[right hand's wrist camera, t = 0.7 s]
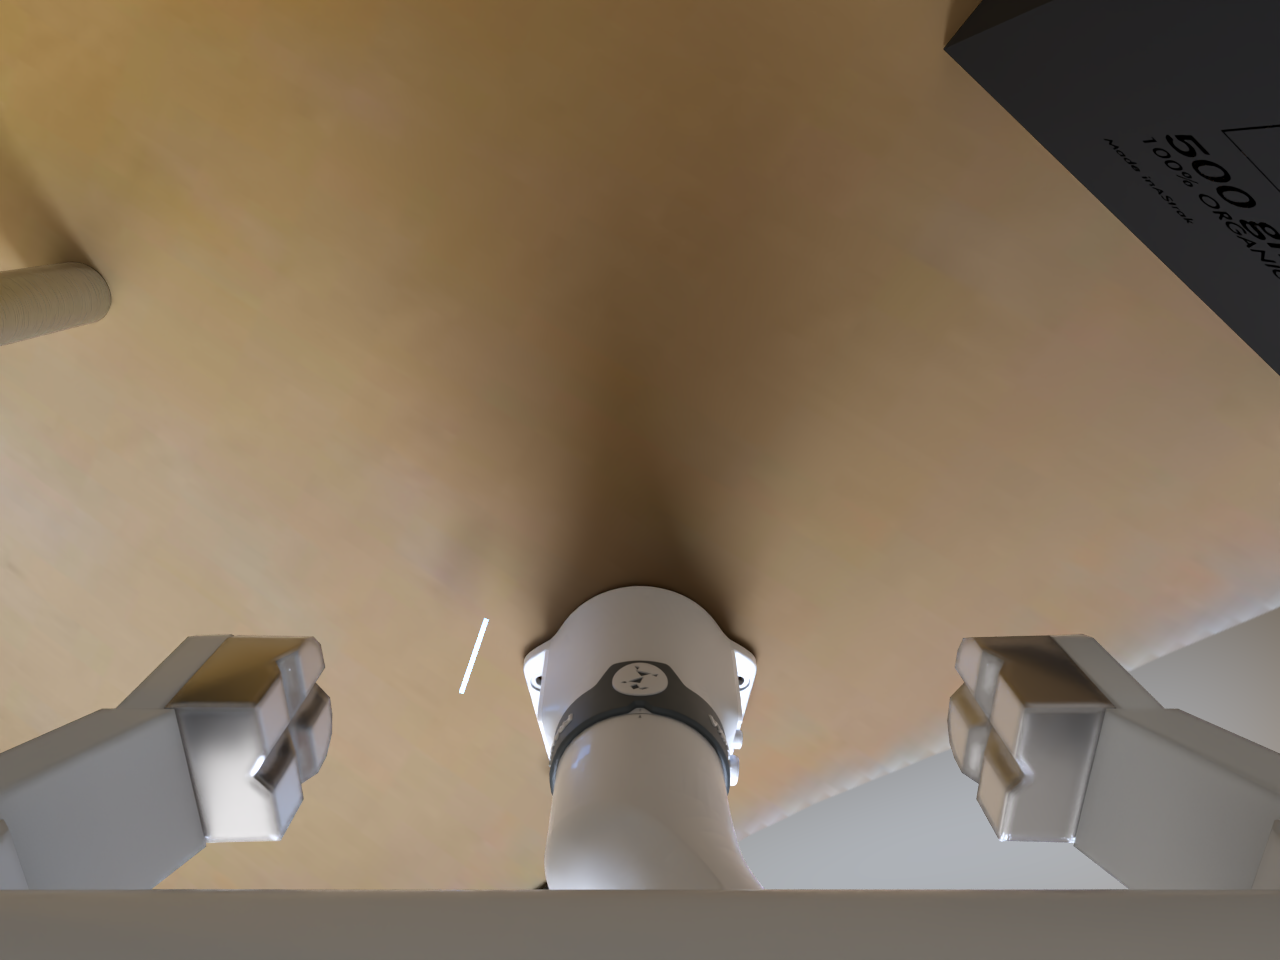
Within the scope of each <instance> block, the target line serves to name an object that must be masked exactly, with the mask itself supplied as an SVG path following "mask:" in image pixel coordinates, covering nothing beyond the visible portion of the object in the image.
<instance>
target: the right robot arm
mask: <svg viewBox="0 0 1280 960" xmlns="http://www.w3.org/2000/svg"><path fill="white" fill-rule="evenodd" d="M487 623H488V619H484V621H483V624H482V627H481V630H480V633H479V636H478V639H477V642H476V645H475V648H474V651H473V654H472V656H471V659H470V662H469V665H468V668H467V671H466V674H465V677H464V680H463V683H462V686H461V689H460V693H464V690H465V687H466V684H467V681H468V678H469V675H470V672H471V670H472V667H473V664H474V661H475V658H476V655H477V652H478V649H479V646H480V643H481V640H482V637H483V634H484V632H485V629H486V626H487ZM324 668H325V664H324V659H323V654H322V649H321V644H320V643H319V642H318V641H317V640H316V639H315V638H314V637H308V636H256V635H236V636H234V635H231V634H229V635H196V636H191V637H187V638H186V639H185V640H184V641H183V642H182V643H181V644H180V645H179V646H178V647H177V648H176V649H175V650H174V651H173V652H172V653H171V654H170V655H169V656H168V657H167V658H166V659H165V660H164V661H163V662H162V663H161V664H160V665H159V666H158V667H157V668H156V669H155V670H154V671H153V672H152V673H151V674H150V675H149V676H148V677H147V678H146V679H145V680H144V681H143V682H142V683H141V684H140V685H139V686H138V687H137V688H136V689H135V690H134V691H133V692H132V693H131V694H130V695H129V696H128V697H127V698H126V699H125V700H124V701H123V702H122V703H121V704H120V705H119V706H118V707H117V708H116V709H100V710H98V711H96V712H94V713H91V714H89V715H87V716H84V717H82V718H80V719H78V720H75V721H73V722H71V723H69V724H66V725H64V726H62V727H59V728H57V729H55V730H53V731H50V732H48V733H46V734H43V735H41V736H39V737H37V738H34V739H32V740H30V741H28V742H25V743H23V744H21V745H18V746H16V747H14V748H12V749H9V750H7V751H5V752H3V753H0V960H1280V754H1279V753H1277V752H1275V751H1273V750H1270V749H1268V748H1266V747H1263V746H1261V745H1259V744H1257V743H1255V742H1252V741H1250V740H1248V739H1245V738H1243V737H1241V736H1239V735H1236V734H1234V733H1232V732H1230V731H1227V730H1225V729H1223V728H1220V727H1218V726H1216V725H1214V724H1211V723H1209V722H1207V721H1204V720H1202V719H1200V718H1198V717H1195V716H1193V715H1191V714H1189V713H1186V712H1184V711H1182V710H1180V709H1165V708H1164V707H1163V706H1161V705H1160V704H1159V703H1158V702H1157V701H1156V700H1155V699H1154V698H1153V697H1152V696H1151V695H1150V694H1149V693H1148V692H1147V691H1146V690H1145V689H1144V688H1143V687H1142V686H1141V685H1140V684H1139V683H1138V682H1137V681H1136V680H1135V679H1134V678H1133V677H1132V676H1131V675H1130V674H1129V673H1128V672H1127V671H1126V670H1125V669H1124V668H1123V667H1122V666H1121V665H1120V664H1119V663H1118V662H1117V661H1116V660H1115V659H1114V658H1113V657H1112V656H1111V655H1110V654H1109V653H1108V652H1107V651H1106V650H1105V649H1104V648H1103V647H1102V646H1101V645H1100V644H1099V643H1098V642H1097V641H1096V640H1095V639H1094V638H1092V637H1089V636H1086V635H1084V634H1075V635H1049V636H1009V637H971V638H963V640H962V642H961V644H960V646H959V648H958V652H957V658H956V664H955V668H956V670H957V671H958V673H959V674H960V676H961V678H962V679H963V681H964V684H963V685H962V686H961V687H960V688H959V689H958V690H957V691H956V692H955V693H954V694H953V695H952V696H951V697H950V703H949V712H948V720H947V721H948V731H949V742H950V745H951V749H952V752H953V755H954V758H955V760H956V762H957V764H958V766H959V768H960V770H961V772H962V773H963V774H965V775H966V776H968V777H969V778H971V779H972V780H974V781H975V782H977V783H978V784H979V787H978V792H977V801H978V803H979V804H980V806H981V808H982V810H983V812H984V814H985V815H986V817H987V819H988V821H989V823H990V824H991V826H992V828H993V830H994V831H995V833H996V835H997V837H998V839H999V840H1000V841H1034V842H1070V843H1074V847H1076V848H1077V849H1078V850H1079V851H1081V852H1082V853H1083V854H1085V855H1086V856H1087V857H1088V858H1090V859H1091V860H1092V861H1094V862H1095V863H1096V864H1097V865H1099V866H1100V867H1101V868H1102V869H1104V870H1105V871H1106V872H1108V873H1109V874H1110V875H1111V876H1113V877H1114V878H1115V879H1117V880H1118V881H1119V882H1120V883H1122V884H1123V885H1124V886H1126V887H1127V888H1128V890H1127V889H1122V890H1121V889H1120V890H1119V889H1116V890H1115V889H1113V890H1112V889H1105V890H1103V889H1100V890H1099V889H1094V890H1093V889H1087V890H1086V889H1085V890H1084V889H1083V890H1081V889H1079V890H1077V889H1076V890H1075V889H1073V890H1072V889H1068V890H1066V889H1064V890H1063V889H1060V890H1059V889H1050V890H1048V889H1044V890H1038V889H1037V890H1036V889H1033V890H1032V889H1029V890H1028V889H1026V890H1025V889H1022V890H1018V889H1016V890H1014V889H1013V890H1012V889H1011V890H1006V889H1005V890H1003V889H1001V890H998V889H996V890H995V889H994V890H993V889H992V890H987V889H985V890H984V889H981V890H980V889H978V890H974V889H971V890H765V889H764V887H763V886H762V885H761V884H760V883H759V881H758V880H757V879H756V877H755V876H754V874H753V873H752V871H751V870H750V868H749V867H748V865H747V863H746V862H745V859H744V858H743V856H742V853H741V851H740V847H739V844H738V841H737V837H736V833H735V829H734V826H733V821H732V817H731V812H730V807H729V802H728V797H727V796H728V793H729V787H730V786H733V785H736V783H737V781H738V775H739V758H738V757H737V756H736V755H733V751H734V749H740V748H741V746H742V740H743V733H742V731H741V730H740V727H741V724H742V720H743V717H744V713H745V710H746V706H747V703H748V699H749V696H750V692H751V689H752V685H753V682H754V679H755V675H756V670H757V667H756V659H755V657H754V655H753V654H752V653H751V652H749V651H748V650H747V649H745V648H744V647H742V646H740V645H739V644H737V643H735V642H733V641H732V640H730V639H729V638H728V637H727V636H726V635H725V634H724V633H723V632H722V630H721V629H720V627H719V626H718V625H717V623H716V622H715V620H714V619H713V618H712V617H711V616H710V615H709V614H708V613H707V612H706V611H705V610H704V609H703V608H702V607H701V606H699V605H698V604H697V603H695V602H694V601H692V600H691V599H689V598H687V597H685V596H683V595H681V594H679V593H676V592H673V591H670V590H667V589H663V588H657V587H650V586H630V587H623V588H617V589H613V590H610V591H607V592H604V593H601V594H599V595H597V596H595V597H593V598H591V599H589V600H588V601H586V602H585V603H583V604H582V605H581V606H579V607H578V608H577V609H576V610H575V611H574V612H573V613H572V614H571V615H570V616H569V617H568V618H567V619H566V620H565V622H564V623H563V625H562V626H561V627H560V629H559V630H558V632H557V633H556V634H555V635H554V636H553V637H552V638H551V639H550V640H548V641H547V642H545V643H543V644H541V645H540V646H538V647H536V648H535V649H533V650H532V651H531V652H529V653H528V654H527V655H526V657H525V659H524V668H523V670H524V675H525V678H526V682H527V685H528V689H529V692H530V696H531V699H532V703H533V706H534V710H535V713H536V717H537V720H538V724H539V727H540V730H541V734H542V737H543V741H544V744H545V748H546V751H547V755H548V758H549V767H550V787H551V793H552V796H553V798H552V805H551V812H550V819H549V827H548V834H547V841H546V848H545V855H544V867H545V875H546V880H547V884H548V886H547V887H546V888H544V889H543V890H376V889H375V890H374V889H152V888H153V887H155V886H156V885H157V884H159V883H160V882H161V881H162V880H164V879H165V878H166V877H168V876H169V875H170V874H171V873H173V872H174V871H175V870H177V869H178V868H179V867H180V866H182V865H183V864H184V863H185V862H187V861H188V860H189V859H191V858H192V857H193V856H194V855H196V854H197V853H198V852H200V851H201V850H202V849H203V848H205V847H206V843H210V842H245V841H280V840H281V839H282V837H283V835H284V833H285V832H286V830H287V828H288V826H289V824H290V823H291V821H292V819H293V817H294V815H295V814H296V812H297V810H298V808H299V806H300V805H301V803H302V801H303V799H304V798H303V792H302V786H301V784H302V783H303V782H305V781H306V780H308V779H309V778H311V777H312V776H314V775H315V774H317V773H318V772H319V770H320V768H321V766H322V764H323V762H324V760H325V758H326V756H327V752H328V748H329V743H330V739H331V735H332V709H331V702H330V697H329V696H328V695H327V694H326V693H325V692H324V691H323V690H322V689H321V688H320V687H319V686H318V685H317V684H316V681H317V679H318V678H319V676H320V674H321V673H322V671H323V670H324ZM539 676H542V680H540V679H538V678H537V677H539ZM738 676H741V677H743V678H742V679H740V680H738Z"/></svg>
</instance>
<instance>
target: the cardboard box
mask: <svg viewBox="0 0 1280 960" xmlns="http://www.w3.org/2000/svg"><path fill="white" fill-rule="evenodd" d="M944 50H945V51H946V52H947V53H948V54H949V55H950V56H951V57H952V58H953V59H954V60H955V61H956V62H957V63H958V64H959V65H960V66H961V67H962V68H963V69H964V70H965V71H966V72H967V73H968V74H970V75H971V76H972V77H973V78H974V79H975V80H976V81H977V82H978V83H979V84H980V85H981V86H982V87H983V88H984V89H985V90H986V91H987V92H988V93H989V94H990V95H991V96H992V97H993V98H994V99H995V100H996V101H997V102H998V103H999V104H1000V105H1001V106H1002V107H1004V108H1005V109H1006V110H1007V111H1008V112H1009V113H1010V114H1011V115H1012V116H1013V117H1014V118H1015V119H1016V120H1017V121H1018V122H1019V123H1020V124H1021V125H1022V126H1023V127H1024V128H1025V129H1026V130H1027V131H1028V132H1029V133H1030V134H1031V135H1032V136H1033V137H1034V138H1035V139H1036V140H1038V141H1039V142H1040V143H1041V144H1042V145H1043V146H1044V147H1045V148H1046V149H1047V150H1048V151H1049V152H1050V153H1051V154H1052V155H1053V156H1054V157H1055V158H1056V159H1057V160H1058V161H1059V162H1060V163H1061V164H1062V165H1063V166H1064V167H1065V168H1066V169H1067V170H1068V171H1069V172H1070V173H1072V174H1073V175H1074V176H1075V177H1076V178H1077V179H1078V180H1079V181H1080V182H1081V183H1082V184H1083V185H1084V186H1085V187H1086V188H1087V189H1088V190H1089V191H1090V192H1091V193H1092V194H1093V195H1094V196H1095V197H1096V198H1097V199H1098V200H1099V201H1100V202H1101V203H1102V204H1103V205H1104V206H1106V207H1107V208H1108V209H1109V210H1110V211H1111V212H1112V213H1113V214H1114V215H1115V216H1116V217H1117V218H1118V219H1119V220H1120V221H1121V222H1122V223H1123V224H1124V225H1125V226H1126V227H1127V228H1128V229H1129V230H1130V231H1131V232H1132V233H1133V234H1134V235H1135V236H1136V237H1137V238H1138V239H1140V240H1141V241H1142V242H1143V243H1144V244H1145V245H1146V246H1147V247H1148V248H1149V249H1150V250H1151V251H1152V252H1153V253H1154V254H1155V255H1156V256H1157V257H1158V258H1159V259H1160V260H1161V261H1162V262H1163V263H1164V264H1165V265H1166V266H1167V267H1168V268H1169V269H1170V270H1171V271H1172V272H1174V273H1175V274H1176V275H1177V276H1178V277H1179V278H1180V279H1181V280H1182V281H1183V282H1184V283H1185V284H1186V285H1187V286H1188V287H1189V288H1190V289H1191V290H1192V291H1193V292H1194V293H1195V294H1196V295H1197V296H1198V297H1199V298H1200V299H1201V300H1202V301H1203V302H1204V303H1205V304H1206V305H1208V306H1209V307H1210V308H1211V309H1212V310H1213V311H1214V312H1215V313H1216V314H1217V315H1218V316H1219V317H1220V318H1221V319H1222V320H1223V321H1224V322H1225V323H1226V324H1227V325H1228V326H1229V327H1230V328H1231V329H1232V330H1233V331H1234V332H1235V333H1236V334H1237V335H1238V336H1239V337H1240V338H1242V339H1243V340H1244V341H1245V342H1246V343H1247V344H1248V345H1249V346H1250V347H1251V348H1252V349H1253V350H1254V351H1255V352H1256V353H1257V354H1258V355H1259V356H1260V357H1261V358H1262V359H1263V360H1264V361H1265V362H1266V363H1267V364H1268V365H1269V366H1270V367H1271V368H1272V369H1273V370H1274V371H1276V372H1277V373H1278V374H1279V375H1280V0H983V1H982V2H981V3H980V4H979V5H978V7H977V8H976V9H975V10H974V12H973V13H972V14H971V15H970V17H969V18H968V19H967V20H966V22H965V23H964V24H963V25H962V27H961V28H960V29H959V30H958V31H957V33H956V34H955V35H954V36H953V38H952V39H951V40H950V41H949V43H948V44H947V45H946V46H945V48H944ZM1269 125H1272V126H1271V127H1270V128H1267V127H1268V126H1269ZM1242 151H1243V152H1244V153H1245V155H1246V156H1247V157H1246V156H1245V155H1244V154H1243V153H1242ZM1193 153H1195V157H1192V156H1193ZM1197 160H1202V161H1203V162H1204V164H1203V166H1201V162H1199V163H1198V164H1197V166H1200V167H1199V168H1198V169H1196V168H1195V166H1193V165H1194V164H1195V162H1196V161H1197ZM1193 161H1194V162H1193ZM1192 162H1193V163H1192ZM1204 165H1206V166H1204ZM1201 173H1203V174H1201ZM1204 175H1206V177H1204ZM1209 176H1210V177H1211V178H1210V179H1211V180H1214V182H1213V181H1210V180H1208V177H1209ZM1223 178H1224V179H1225V181H1224V182H1223V183H1221V182H1220V183H1218V182H1217V181H1219V180H1222V179H1223ZM1219 186H1222V187H1221V190H1222V189H1223V188H1224V187H1226V186H1227V187H1229V189H1230V191H1228V190H1227V189H1225V190H1224V191H1223V192H1222V193H1220V192H1221V190H1220V191H1218V189H1219ZM1235 189H1237V191H1234V190H1235ZM1224 196H1225V197H1224ZM1226 198H1227V199H1228V200H1227V199H1226ZM1248 201H1249V203H1248V204H1247V205H1246V206H1247V207H1248V208H1242V206H1243V205H1244V204H1245V203H1246V202H1248ZM1235 202H1238V203H1240V202H1242V205H1241V206H1240V207H1238V205H1237V204H1236V203H1235ZM1233 203H1235V205H1236V206H1235V205H1233ZM1251 221H1253V223H1252V224H1250V222H1251ZM1261 222H1264V224H1263V226H1262V228H1260V225H1259V226H1256V227H1254V225H1255V223H1257V224H1259V223H1261ZM1258 229H1259V231H1257V230H1258Z"/></svg>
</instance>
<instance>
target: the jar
mask: <svg viewBox="0 0 1280 960" xmlns="http://www.w3.org/2000/svg"><path fill="white" fill-rule="evenodd" d="M110 304H111V295H110V291H109V288H108V285H107V284H106V282H105V280H104V279H103V277H102V276H101V275H100V274H99V273H98V272H97V271H96V270H94V269H93V268H91V267H89V266H87V265H85V264H82V263H78V262H66V263H59V264H51V265H44V266H37V267H30V268H22V269H15V270H8V271H0V346H3V345H7V344H11V343H15V342H19V341H23V340H27V339H31V338H35V337H39V336H43V335H47V334H51V333H54V332H58V331H62V330H66V329H70V328H74V327H78V326H82V325H86V324H90V323H94V322H97V321H99V320H101V319H102V318H103V317H104V316H105V315H106V314H107V312H108V310H109V308H110Z"/></svg>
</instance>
